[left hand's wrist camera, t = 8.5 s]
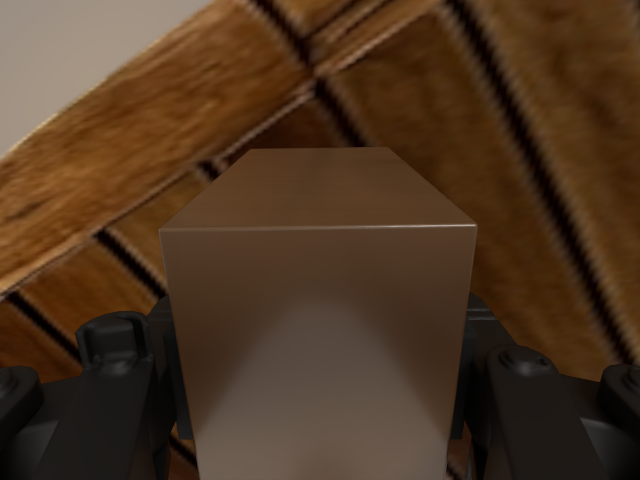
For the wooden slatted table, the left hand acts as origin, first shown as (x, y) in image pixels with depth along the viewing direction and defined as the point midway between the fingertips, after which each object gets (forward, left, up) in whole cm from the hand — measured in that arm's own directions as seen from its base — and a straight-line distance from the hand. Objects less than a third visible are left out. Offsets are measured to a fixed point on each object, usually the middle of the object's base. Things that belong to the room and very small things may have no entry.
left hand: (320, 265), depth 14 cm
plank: (-16, +11, -1) cm, 19 cm away
